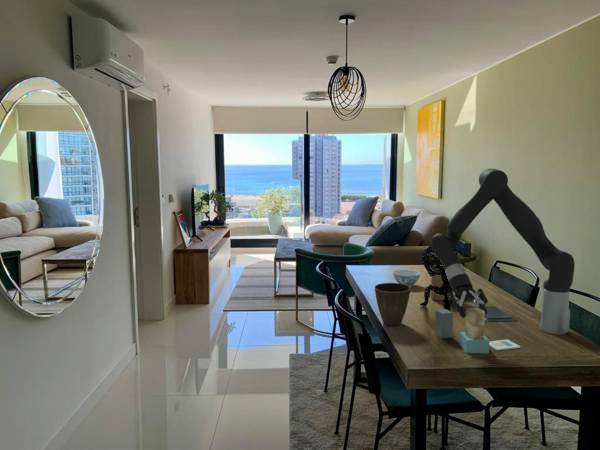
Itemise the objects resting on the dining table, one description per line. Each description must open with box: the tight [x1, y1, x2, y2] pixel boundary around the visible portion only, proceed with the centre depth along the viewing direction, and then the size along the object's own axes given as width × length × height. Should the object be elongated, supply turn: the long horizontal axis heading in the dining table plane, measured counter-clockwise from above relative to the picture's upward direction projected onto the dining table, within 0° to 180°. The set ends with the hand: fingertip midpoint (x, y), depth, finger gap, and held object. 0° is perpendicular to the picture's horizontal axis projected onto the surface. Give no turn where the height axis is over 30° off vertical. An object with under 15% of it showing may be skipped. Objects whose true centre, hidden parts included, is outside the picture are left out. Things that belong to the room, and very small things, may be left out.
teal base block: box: [459, 331, 490, 354], centre depth 160 cm, size 8×8×5 cm
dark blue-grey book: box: [469, 305, 518, 323], centre depth 198 cm, size 20×2×15 cm
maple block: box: [464, 307, 485, 339], centre depth 159 cm, size 4×4×10 cm
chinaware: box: [392, 269, 421, 288], centre depth 247 cm, size 15×15×8 cm
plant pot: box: [374, 282, 411, 327], centre depth 186 cm, size 15×15×16 cm
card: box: [489, 339, 521, 351], centre depth 163 cm, size 10×7×1 cm
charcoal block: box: [435, 309, 454, 339], centre depth 172 cm, size 4×4×10 cm
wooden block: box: [430, 275, 444, 302], centre depth 222 cm, size 10×10×20 cm
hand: (475, 316), depth 159 cm, fingers open, 8 cm apart
